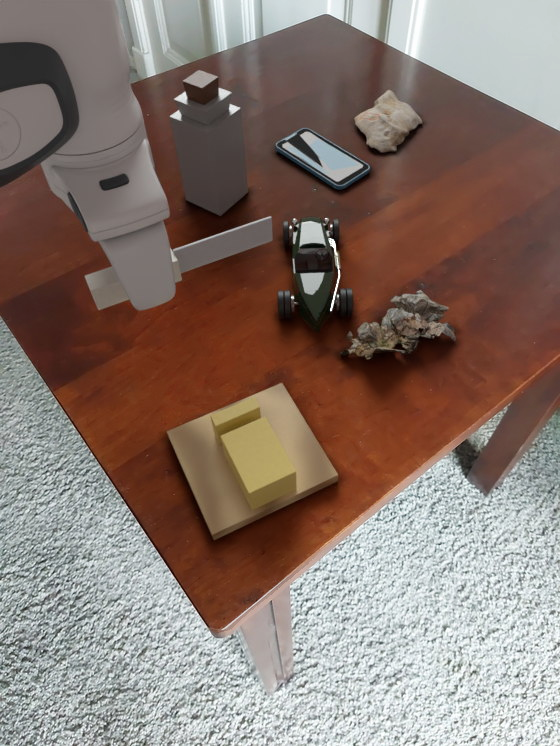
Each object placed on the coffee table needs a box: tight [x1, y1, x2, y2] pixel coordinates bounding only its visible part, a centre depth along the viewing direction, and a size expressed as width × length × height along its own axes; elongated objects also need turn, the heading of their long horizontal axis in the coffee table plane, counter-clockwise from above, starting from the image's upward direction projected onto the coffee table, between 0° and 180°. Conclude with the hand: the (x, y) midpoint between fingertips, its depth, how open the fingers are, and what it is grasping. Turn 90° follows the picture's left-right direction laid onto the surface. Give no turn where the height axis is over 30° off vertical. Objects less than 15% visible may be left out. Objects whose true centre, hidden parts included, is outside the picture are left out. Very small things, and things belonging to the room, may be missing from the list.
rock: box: [339, 289, 456, 360], centre depth 72 cm, size 8×15×4 cm, turn 115°
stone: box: [353, 89, 423, 153], centre depth 98 cm, size 13×11×3 cm
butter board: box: [166, 382, 339, 541], centre depth 63 cm, size 14×13×2 cm
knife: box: [83, 215, 274, 311], centre depth 61 cm, size 20×2×3 cm, turn 117°
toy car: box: [277, 216, 354, 334], centre depth 77 cm, size 9×20×5 cm, turn 1°
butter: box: [220, 417, 297, 510], centre depth 60 cm, size 5×7×4 cm
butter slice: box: [210, 397, 261, 445], centre depth 62 cm, size 5×2×4 cm, turn 116°
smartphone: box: [275, 127, 371, 191], centre depth 94 cm, size 7×1×15 cm
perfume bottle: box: [169, 69, 249, 217], centre depth 83 cm, size 7×7×18 cm
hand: (133, 277), depth 60 cm, fingers closed on knife, 2 cm apart
